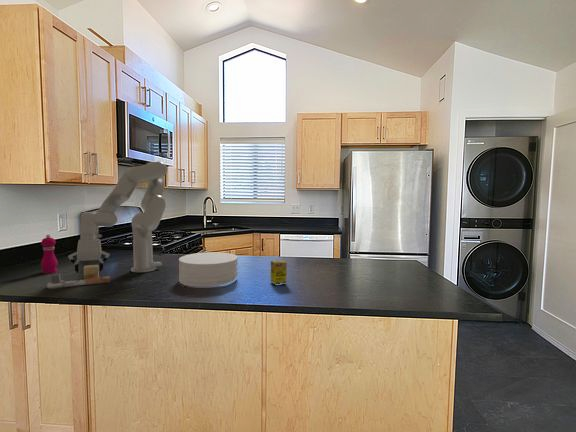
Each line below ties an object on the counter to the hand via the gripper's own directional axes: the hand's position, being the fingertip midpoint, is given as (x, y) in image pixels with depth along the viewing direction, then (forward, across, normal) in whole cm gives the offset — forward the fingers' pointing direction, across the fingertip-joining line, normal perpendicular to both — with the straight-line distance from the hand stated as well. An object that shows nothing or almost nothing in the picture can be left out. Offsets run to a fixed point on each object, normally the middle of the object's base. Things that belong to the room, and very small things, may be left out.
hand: (89, 271), depth 155 cm
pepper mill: (+4, +19, -23) cm, 30 cm away
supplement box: (+2, -80, +49) cm, 94 cm away
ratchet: (+4, +4, +9) cm, 10 cm away
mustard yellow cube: (+4, -1, 0) cm, 4 cm away
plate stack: (+2, -52, +28) cm, 59 cm away
